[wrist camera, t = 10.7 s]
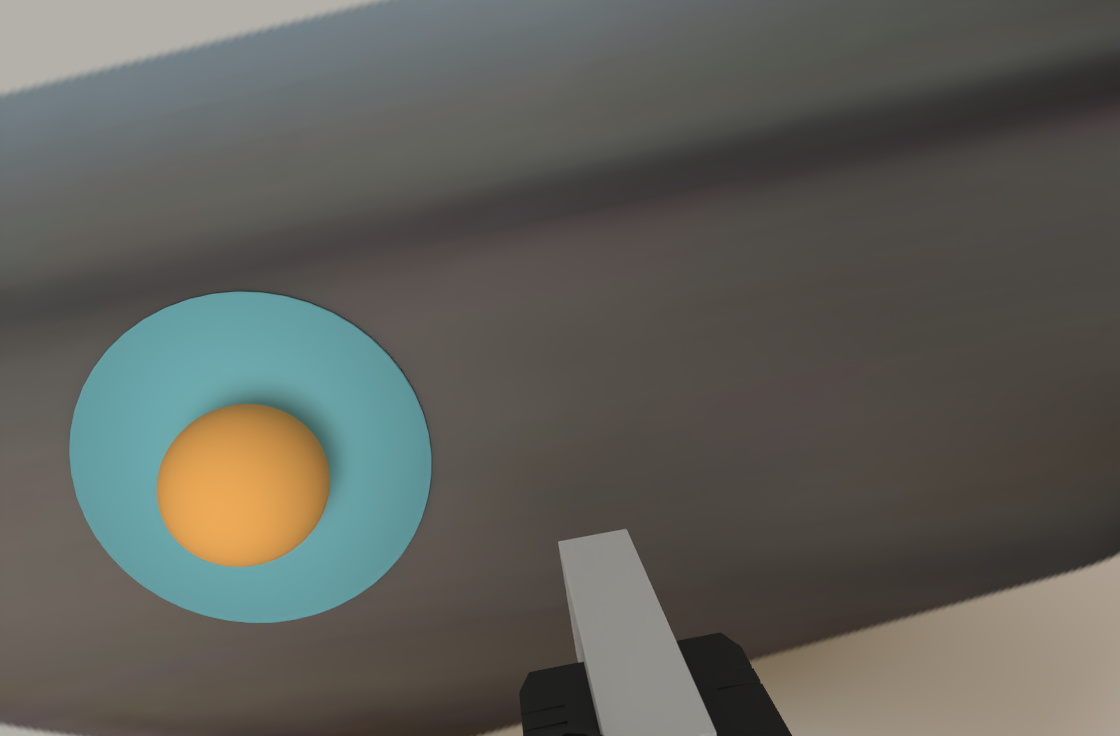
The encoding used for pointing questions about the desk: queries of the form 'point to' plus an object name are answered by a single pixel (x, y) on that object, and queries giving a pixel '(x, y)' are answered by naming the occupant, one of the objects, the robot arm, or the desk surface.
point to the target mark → (264, 379)
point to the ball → (243, 485)
